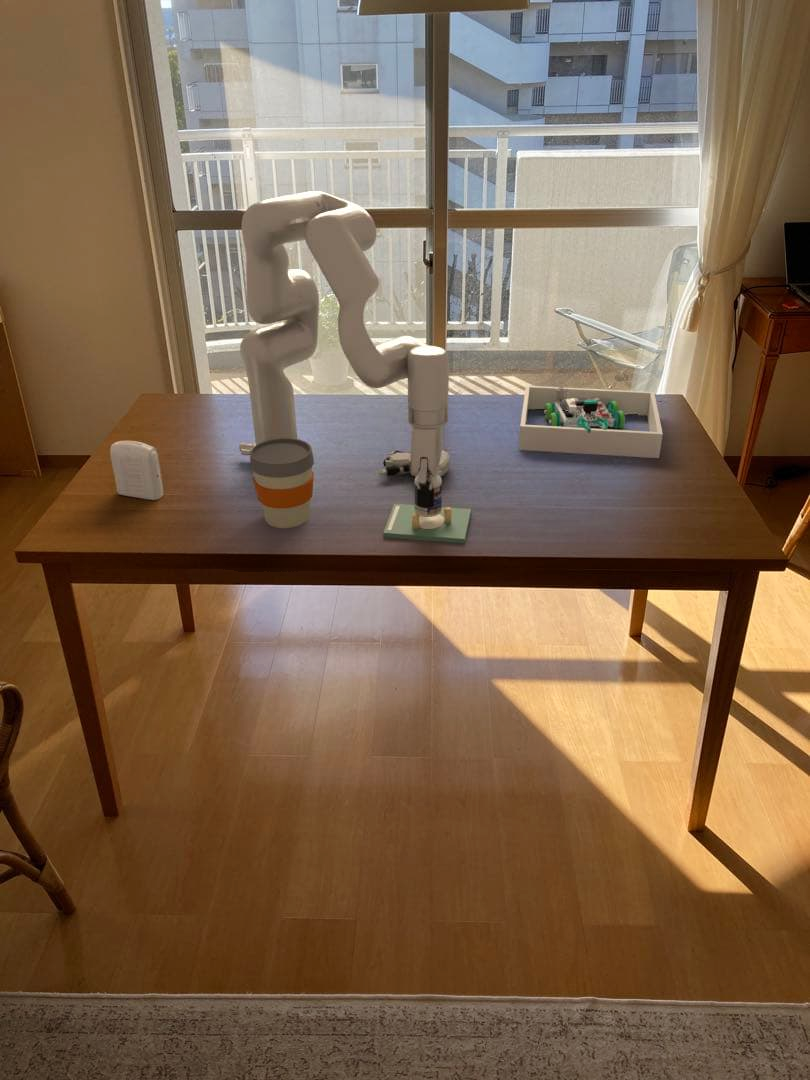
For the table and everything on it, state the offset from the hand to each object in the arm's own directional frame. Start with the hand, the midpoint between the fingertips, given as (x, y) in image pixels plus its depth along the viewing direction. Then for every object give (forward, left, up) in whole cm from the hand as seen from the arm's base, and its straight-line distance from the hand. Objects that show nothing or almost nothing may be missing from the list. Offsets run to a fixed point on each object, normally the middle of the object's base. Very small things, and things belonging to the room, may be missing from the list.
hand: (427, 498), depth 172 cm
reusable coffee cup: (-29, -1, -6) cm, 30 cm away
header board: (0, 0, -6) cm, 6 cm away
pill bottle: (0, 0, -3) cm, 3 cm away
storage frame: (+32, +51, -6) cm, 61 cm away
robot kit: (+32, +51, -6) cm, 60 cm away
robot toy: (-6, +23, -7) cm, 24 cm away
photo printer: (-63, +4, -6) cm, 63 cm away
